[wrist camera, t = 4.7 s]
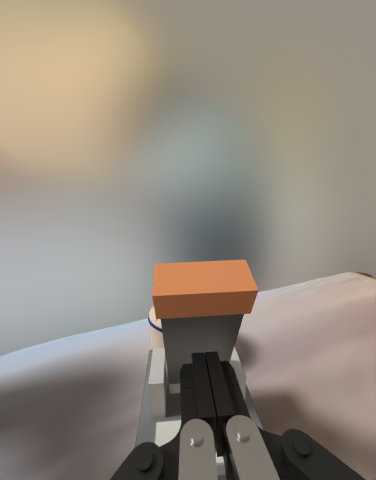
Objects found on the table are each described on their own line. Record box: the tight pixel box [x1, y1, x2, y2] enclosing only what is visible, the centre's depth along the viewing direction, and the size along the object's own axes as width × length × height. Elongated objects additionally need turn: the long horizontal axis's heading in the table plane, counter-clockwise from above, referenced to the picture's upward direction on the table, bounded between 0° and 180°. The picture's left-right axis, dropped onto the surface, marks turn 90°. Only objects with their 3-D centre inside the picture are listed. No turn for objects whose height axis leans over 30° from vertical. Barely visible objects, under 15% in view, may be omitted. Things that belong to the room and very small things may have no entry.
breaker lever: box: [152, 260, 258, 394], centre depth 16 cm, size 2×5×15 cm, turn 94°
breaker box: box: [135, 347, 263, 480], centre depth 21 cm, size 12×10×13 cm
